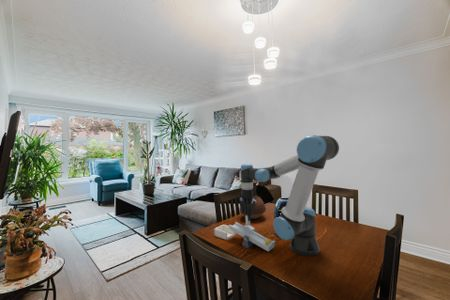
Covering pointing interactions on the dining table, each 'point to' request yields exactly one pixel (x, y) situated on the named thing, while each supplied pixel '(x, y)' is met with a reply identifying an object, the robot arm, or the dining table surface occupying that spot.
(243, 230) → the seesaw
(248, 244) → the trunnion stand
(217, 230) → the dish
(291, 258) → the dining table surface
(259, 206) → the vase
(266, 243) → the ball
